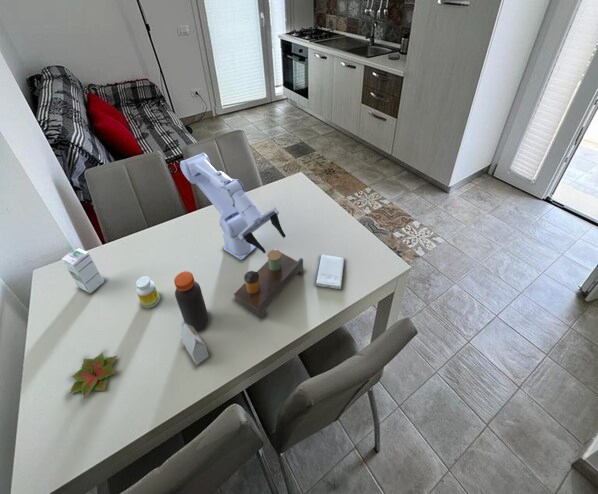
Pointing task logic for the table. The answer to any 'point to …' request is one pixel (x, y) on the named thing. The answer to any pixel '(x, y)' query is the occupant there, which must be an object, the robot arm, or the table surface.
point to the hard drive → (330, 272)
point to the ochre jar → (252, 282)
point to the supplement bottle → (147, 292)
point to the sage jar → (274, 260)
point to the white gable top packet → (194, 344)
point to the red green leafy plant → (93, 374)
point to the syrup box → (83, 270)
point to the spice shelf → (269, 285)
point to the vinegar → (191, 301)
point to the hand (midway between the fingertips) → (274, 244)
